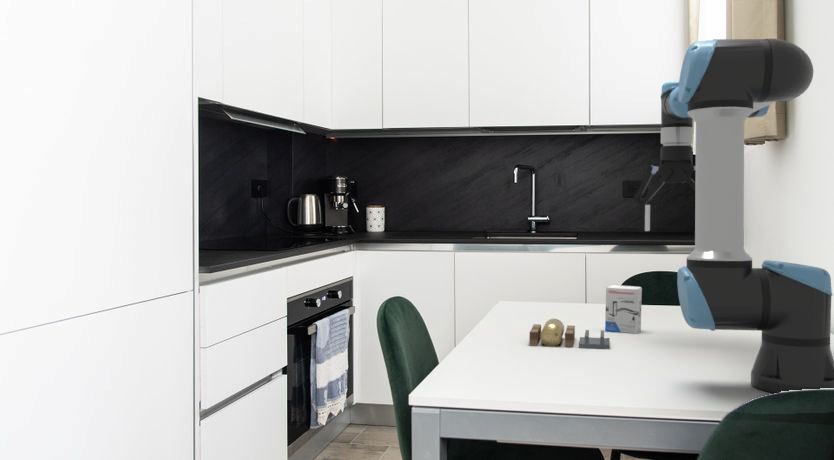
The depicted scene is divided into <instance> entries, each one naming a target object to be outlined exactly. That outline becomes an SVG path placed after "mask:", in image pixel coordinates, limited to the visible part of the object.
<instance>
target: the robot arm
mask: <svg viewBox="0 0 834 460" xmlns="http://www.w3.org/2000/svg"><path fill="white" fill-rule="evenodd" d="M813 78H814V67H813V62H812V59H811V58H810V56H809V55H808V53H806V51H805V50H804V49H802V48H801V47H799V46H798V45H797V44H794V43H792V42H791V41H788V40H783V39H780V38H754V39H753V38H744V39H743V38H741V39H739V38H736V39H733V38H729V39H728V38H726V39H725V38H724V39H721V38H719V39H717V38H715V39H714V38H713V39H708V40H701V41H695V42H692V43H691V44H690V45H689V46H688V48H686V51H685V55H684V57H683V60H682V64H681V69H680V74H679V80H674V81H668V82H667V81H666V82H664V83H663V84H662V85H661V93H660V103H661V104H660V105H661V106H660V109H661V111H660V112H661V113H660V116H661V117H660V119H661V121H660V123H661V125H660V144H661V145H662V146H661V147H660V161H659V162H660V164H659V166H655V165H651V164H649V165H647V167H646V173H645V176H644V178H643V180H642V182H641V184H640V185H639V188H638V189H637V191H636V193H635V195H634V197H633V198H632V200H633V202H634V203H637V204H639V205H640V216H641V218H644V232H650V231H651V204H648V203H649V202H650V201H651V200H652V198H654V196H655V195H656V194H657V192H659V191H660V189H661V188H662V187H663V186H664V185H665V184H666V183H668V184H675V183H677V184H684V183H687V184H688V185H689V186H690V188H691V189H692V190H693V191H694V192H695V195H694V196H695V198H694V199H695V201H694V203H695V204H694V205H695V208H694V209H695V210H694V211H695V213H694V220H695V224H694V225H695V226H694V227H695V229H694V244H695V245H694V249H693V251H691V253H689V255H687V256H686V265H685V266H684V265H683V266H681V267H679V268H678V270H677V273H676V274H677V278H676V280H677V281H676V282H677V283H676V284H677V293H678V300H679V305H680V310H681V313H682V317H683V319H684V321H685V323H686V324H687V325H688V326H689V327H690V328H691V329H692V328H693V329H698V330H709V331H716V330H718V331H719V330H722V331H726V330H727V331H761V341H760V342H761V344H760V347H759V350H758V353H757V355H756V358H755V361H754V363H753V367H752V369H751V373H750V385H751V386H752V387H754V388H756V389H759V390H762V391H765V392H770V393H773V394H776V393H775V392H781V391H789V390H802V389H820V388H834V356H833V353H832V349H831V325H832V324H831V323H832V322H831V321H832V318H831V317H832V296H833V292H832V278H831V275H830V273H829V272H828V271H827V270H826V269H825V268H822V267H818V266H817V267H816V266H813V265H807V264H806V265H805V264H801V263H800V264H799V263H794V262H793V263H792V262H788V261H787V262H786V261H779V260H771V259H770V260H767V259H766V260H763V262H762V263H761V268H760V267H758V268H757V267H753V258H752V257H751V255H750V254H748V253H747V251H745V248H744V241H745V238H744V237H745V235H744V234H745V233H744V232H745V230H744V229H745V227H744V226H745V224H744V223H745V220H744V219H745V218H744V217H745V121H746V120H747V119H748V118H758V117H759V118H760V117H764V116H766V115H767V113H768V111H769V109H770V105H772V104H774V103H784V102H790V101H792V100H794V99H796V98H798V97H800V96H801V95H803V94H804V93H805V92H806V91H807V90H808V88H809V87H810V86H811V83H812V81H813ZM693 122H695V165H694V164H693V150H694V149H693V146H692V145H691V144H693V141H694V140H693V138H694V136H693V135H694V134H693V131H694V129H693V127H694V125H693ZM657 172H658V173H659V174H660V175H661V177H660V178H659V180H658V181H657V182H655V184H654V186H652V188H651V189H650V190H649V191H648V192H647V193H646V195H645V196H644V197H643V195H644V193H645V191H646V190H647V187H648V185H649V183H650V182H651V180H652V178H653V175H655V174H657ZM694 172H695V180H694V179H693V178H692V177H691V175H692V174H693V173H694ZM642 197H643V198H642Z"/></svg>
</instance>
